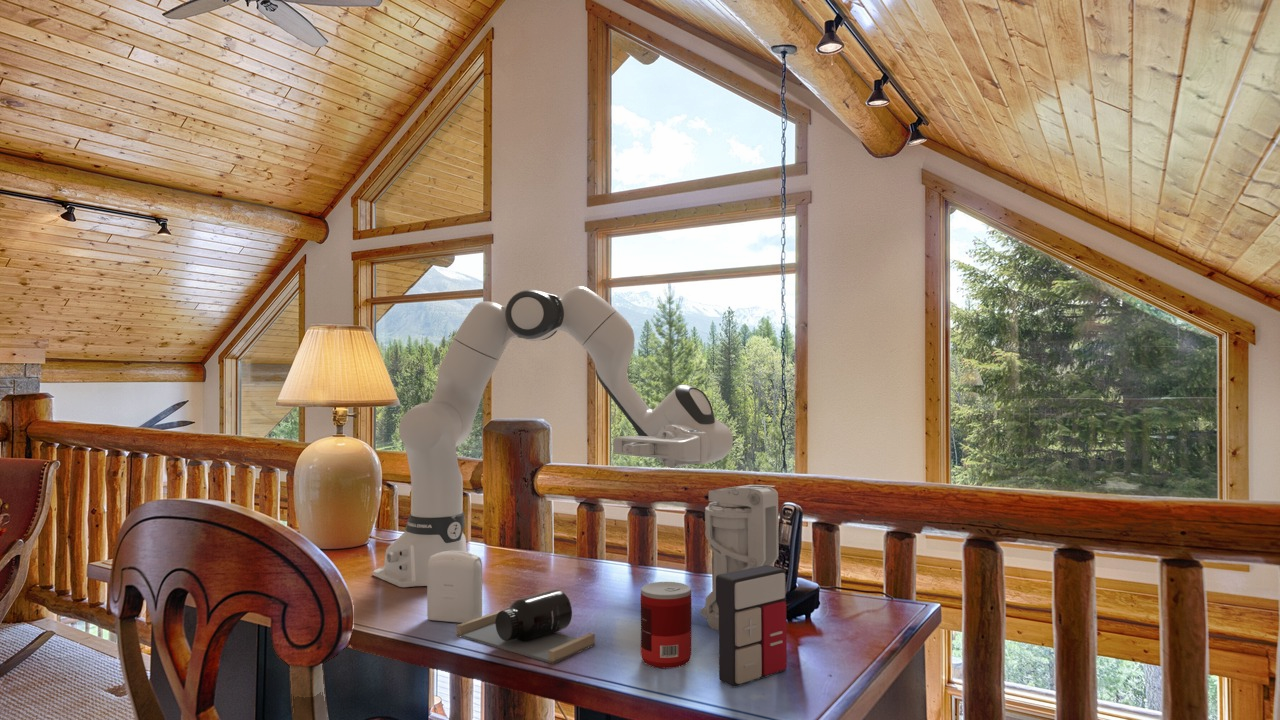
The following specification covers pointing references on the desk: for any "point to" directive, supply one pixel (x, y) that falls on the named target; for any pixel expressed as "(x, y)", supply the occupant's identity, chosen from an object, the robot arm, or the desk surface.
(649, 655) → the canned food
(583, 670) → the desk surface
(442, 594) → the photo printer
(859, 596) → the desk surface
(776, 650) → the calculator
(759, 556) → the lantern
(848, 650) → the desk surface
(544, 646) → the felt tray
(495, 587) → the desk surface
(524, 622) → the supplement bottle
